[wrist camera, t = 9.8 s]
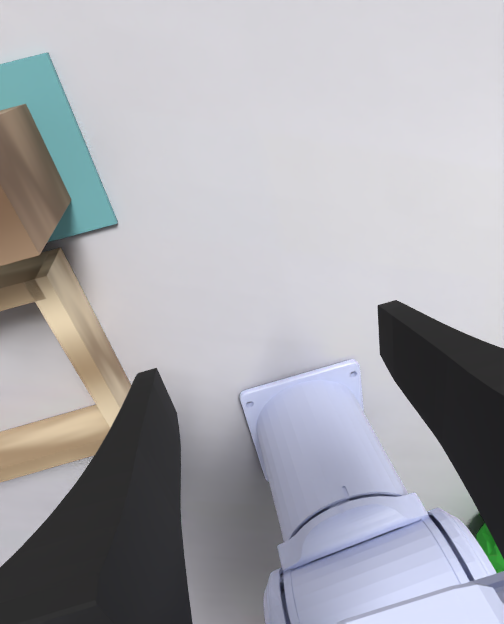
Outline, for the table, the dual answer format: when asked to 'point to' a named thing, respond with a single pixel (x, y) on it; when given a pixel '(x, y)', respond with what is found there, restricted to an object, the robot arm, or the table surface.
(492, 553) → the brain model
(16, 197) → the walnut block
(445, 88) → the table surface
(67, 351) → the open wooden frame
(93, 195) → the mat
